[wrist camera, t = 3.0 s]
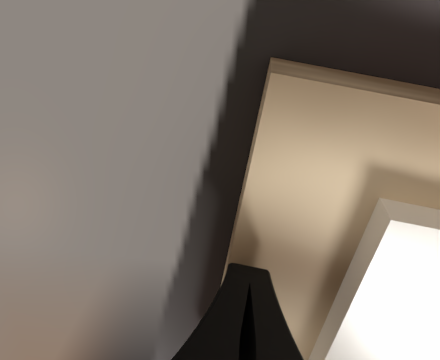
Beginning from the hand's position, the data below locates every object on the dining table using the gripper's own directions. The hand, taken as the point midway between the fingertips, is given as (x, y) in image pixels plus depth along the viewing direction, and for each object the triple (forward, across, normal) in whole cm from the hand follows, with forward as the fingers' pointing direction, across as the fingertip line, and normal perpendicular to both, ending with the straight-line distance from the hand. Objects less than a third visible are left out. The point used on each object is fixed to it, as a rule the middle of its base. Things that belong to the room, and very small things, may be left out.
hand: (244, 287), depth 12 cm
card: (+1, -6, 0) cm, 6 cm away
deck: (+3, -4, 0) cm, 5 cm away
